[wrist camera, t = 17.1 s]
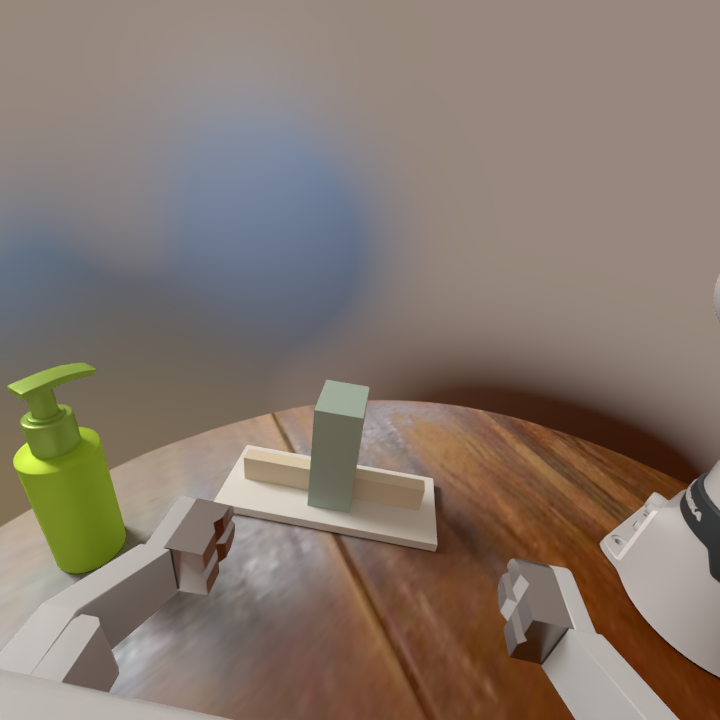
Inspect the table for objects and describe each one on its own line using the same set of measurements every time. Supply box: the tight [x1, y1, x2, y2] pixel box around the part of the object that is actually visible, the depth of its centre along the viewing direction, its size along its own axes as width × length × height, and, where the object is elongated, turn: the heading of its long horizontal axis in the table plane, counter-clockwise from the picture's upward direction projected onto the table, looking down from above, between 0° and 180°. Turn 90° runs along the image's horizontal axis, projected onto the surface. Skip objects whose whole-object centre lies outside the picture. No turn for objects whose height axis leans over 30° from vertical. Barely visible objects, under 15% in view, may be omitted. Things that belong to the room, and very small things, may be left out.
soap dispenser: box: [7, 363, 126, 573], centre depth 33 cm, size 6×7×20 cm
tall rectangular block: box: [307, 380, 369, 513], centre depth 43 cm, size 5×6×14 cm
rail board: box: [214, 445, 438, 552], centre depth 46 cm, size 26×10×5 cm, turn 83°
